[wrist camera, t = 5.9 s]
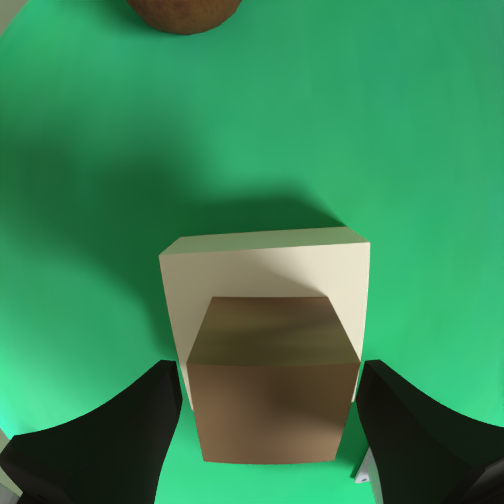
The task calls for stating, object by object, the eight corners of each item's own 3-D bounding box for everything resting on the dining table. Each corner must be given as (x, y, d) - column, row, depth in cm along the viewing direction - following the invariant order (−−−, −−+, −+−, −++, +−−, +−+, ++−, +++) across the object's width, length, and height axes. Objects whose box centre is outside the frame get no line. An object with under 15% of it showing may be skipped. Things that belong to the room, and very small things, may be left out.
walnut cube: (327, 296, 13) (360, 362, 8) (317, 385, 14) (334, 460, 9) (212, 296, 13) (186, 363, 8) (218, 385, 14) (203, 461, 9)
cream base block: (345, 225, 16) (370, 242, 12) (339, 361, 18) (353, 401, 14) (181, 235, 16) (158, 255, 12) (203, 369, 19) (191, 409, 15)
